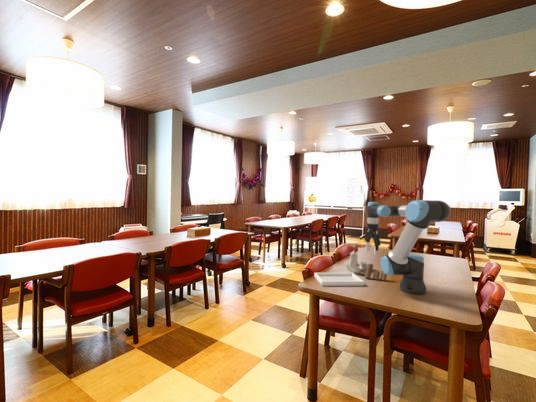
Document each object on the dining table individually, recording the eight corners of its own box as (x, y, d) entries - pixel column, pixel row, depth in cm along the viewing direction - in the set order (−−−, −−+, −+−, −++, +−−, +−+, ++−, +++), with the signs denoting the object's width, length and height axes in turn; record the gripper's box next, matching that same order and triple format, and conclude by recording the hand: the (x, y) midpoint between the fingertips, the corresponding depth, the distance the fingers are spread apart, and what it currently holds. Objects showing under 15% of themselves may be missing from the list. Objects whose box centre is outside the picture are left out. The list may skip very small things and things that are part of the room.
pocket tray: (364, 286, 179) (364, 281, 179) (321, 286, 177) (321, 281, 177) (352, 276, 200) (352, 272, 199) (314, 276, 198) (314, 272, 198)
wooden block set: (385, 284, 192) (389, 269, 195) (381, 281, 187) (385, 267, 189) (361, 277, 205) (364, 264, 207) (357, 274, 199) (360, 261, 202)
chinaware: (361, 278, 201) (364, 256, 200) (339, 272, 211) (342, 251, 209) (372, 270, 223) (374, 251, 222) (352, 265, 233) (354, 246, 232)
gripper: (360, 221, 207) (359, 249, 207) (375, 225, 182) (374, 256, 182) (370, 221, 207) (369, 249, 208) (386, 225, 182) (385, 256, 183)
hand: (371, 252), depth 195 cm, fingers open, 13 cm apart
